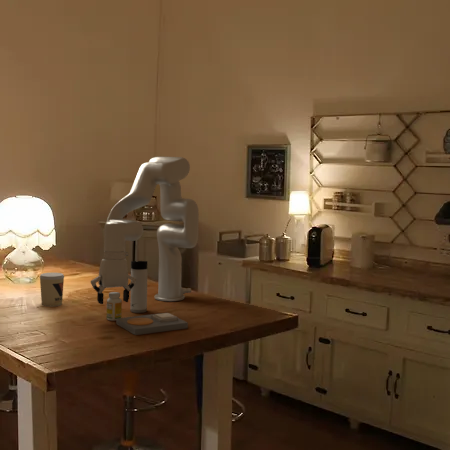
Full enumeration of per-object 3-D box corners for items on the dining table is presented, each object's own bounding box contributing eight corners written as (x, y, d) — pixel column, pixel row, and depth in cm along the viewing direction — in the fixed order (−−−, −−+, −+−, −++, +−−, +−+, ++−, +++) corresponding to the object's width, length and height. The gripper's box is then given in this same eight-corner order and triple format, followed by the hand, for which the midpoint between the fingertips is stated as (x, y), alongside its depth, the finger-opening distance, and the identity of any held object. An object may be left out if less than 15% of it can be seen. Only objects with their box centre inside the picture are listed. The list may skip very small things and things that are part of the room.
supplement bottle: (105, 320, 234) (106, 294, 233) (107, 317, 239) (107, 291, 238) (121, 320, 235) (121, 294, 234) (121, 317, 240) (122, 291, 239)
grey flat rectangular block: (166, 317, 241) (167, 310, 240) (187, 328, 227) (187, 319, 227) (116, 324, 230) (116, 315, 230) (135, 335, 216) (135, 326, 216)
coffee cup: (57, 307, 251) (57, 277, 250) (35, 306, 253) (35, 275, 252) (68, 302, 261) (68, 273, 259) (46, 301, 262) (46, 271, 261)
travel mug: (131, 313, 246) (132, 261, 244) (129, 309, 252) (130, 258, 250) (148, 313, 247) (148, 261, 245) (145, 308, 254) (146, 258, 252)
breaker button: (167, 320, 235) (167, 312, 234) (174, 323, 230) (174, 315, 230) (155, 322, 232) (155, 314, 232) (161, 325, 228) (161, 317, 227)
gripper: (132, 253, 242) (131, 298, 244) (87, 255, 233) (86, 302, 234) (140, 256, 236) (139, 302, 237) (95, 258, 227) (94, 306, 228)
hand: (113, 302), depth 236 cm, fingers open, 9 cm apart
